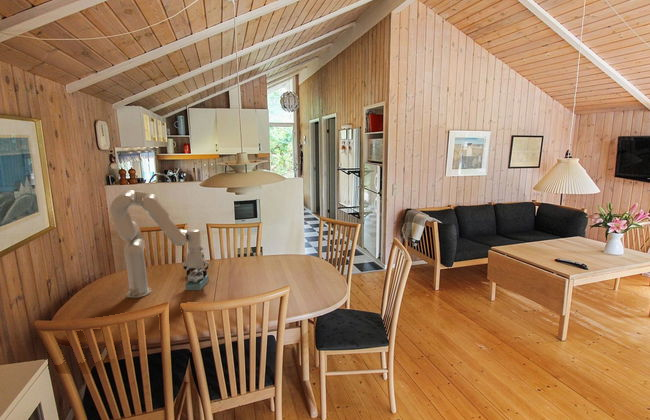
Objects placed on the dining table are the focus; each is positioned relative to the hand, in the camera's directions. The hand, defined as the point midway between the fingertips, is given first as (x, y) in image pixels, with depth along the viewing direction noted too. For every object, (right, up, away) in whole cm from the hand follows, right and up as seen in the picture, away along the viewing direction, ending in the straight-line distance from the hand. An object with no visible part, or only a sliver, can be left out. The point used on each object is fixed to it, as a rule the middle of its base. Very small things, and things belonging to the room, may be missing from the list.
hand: (197, 276), depth 220 cm
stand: (0, -6, +1) cm, 6 cm away
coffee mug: (-9, -2, +21) cm, 23 cm away
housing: (0, -2, 0) cm, 2 cm away
